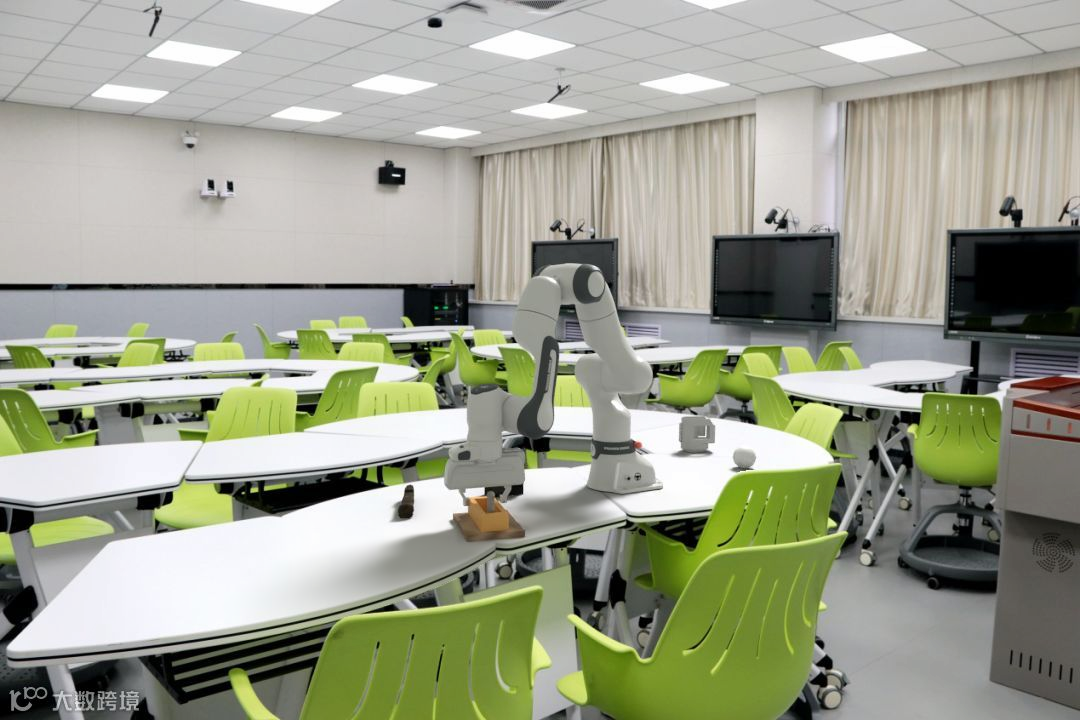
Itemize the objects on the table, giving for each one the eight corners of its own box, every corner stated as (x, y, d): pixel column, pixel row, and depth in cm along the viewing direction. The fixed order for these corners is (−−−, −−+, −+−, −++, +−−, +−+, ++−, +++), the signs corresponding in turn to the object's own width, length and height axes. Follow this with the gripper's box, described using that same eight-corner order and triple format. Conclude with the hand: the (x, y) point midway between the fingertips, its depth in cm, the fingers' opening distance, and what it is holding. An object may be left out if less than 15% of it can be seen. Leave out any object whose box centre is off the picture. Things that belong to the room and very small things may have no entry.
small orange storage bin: (493, 510, 211) (493, 495, 210) (508, 529, 196) (508, 513, 195) (467, 512, 209) (467, 497, 208) (481, 532, 194) (481, 515, 193)
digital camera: (491, 499, 227) (491, 474, 226) (484, 494, 232) (484, 470, 231) (525, 495, 231) (525, 471, 231) (517, 490, 236) (517, 467, 236)
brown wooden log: (413, 519, 209) (413, 501, 208) (397, 519, 209) (397, 501, 208) (420, 499, 228) (420, 482, 227) (406, 499, 227) (406, 482, 227)
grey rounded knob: (756, 471, 262) (757, 448, 261) (732, 470, 263) (733, 447, 262) (754, 464, 271) (755, 442, 271) (731, 463, 273) (732, 441, 272)
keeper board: (506, 515, 212) (506, 477, 211) (525, 536, 195) (525, 495, 194) (452, 519, 208) (452, 480, 207) (467, 541, 191) (467, 499, 190)
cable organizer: (715, 452, 289) (716, 418, 288) (681, 453, 287) (682, 419, 286) (709, 448, 296) (710, 415, 294) (675, 449, 294) (676, 416, 293)
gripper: (521, 444, 210) (521, 497, 211) (442, 449, 204) (443, 503, 205) (528, 449, 204) (528, 503, 205) (447, 455, 198) (447, 510, 199)
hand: (485, 503), depth 205 cm, fingers open, 8 cm apart
